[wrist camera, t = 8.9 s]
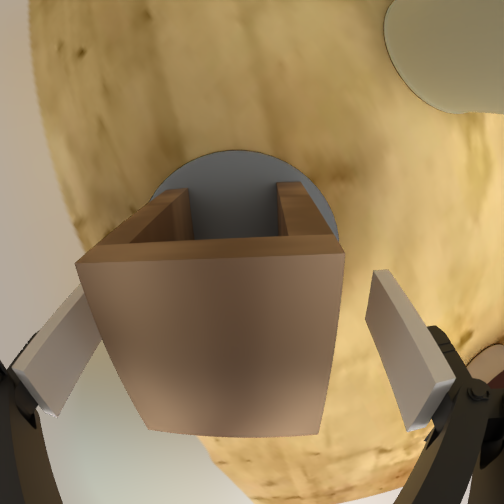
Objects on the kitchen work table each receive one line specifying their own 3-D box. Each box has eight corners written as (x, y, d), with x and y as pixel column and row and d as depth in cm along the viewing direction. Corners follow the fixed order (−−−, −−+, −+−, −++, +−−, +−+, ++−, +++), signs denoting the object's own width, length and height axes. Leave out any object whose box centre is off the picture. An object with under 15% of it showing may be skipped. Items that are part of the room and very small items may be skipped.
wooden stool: (187, 313, 21) (148, 429, 12) (165, 189, 17) (74, 263, 8) (299, 311, 20) (318, 434, 11) (300, 181, 17) (345, 253, 8)
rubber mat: (129, 162, 17) (125, 163, 16) (339, 147, 16) (341, 148, 16) (163, 329, 22) (161, 334, 22) (330, 326, 22) (331, 331, 21)
